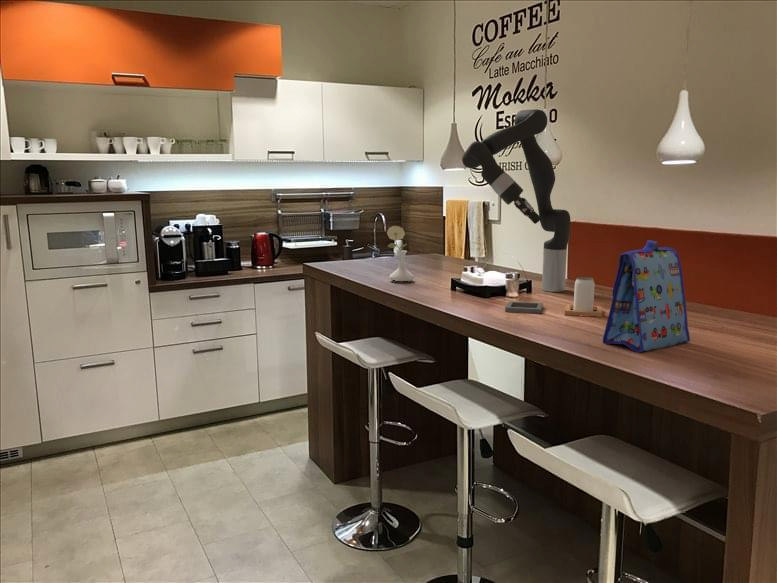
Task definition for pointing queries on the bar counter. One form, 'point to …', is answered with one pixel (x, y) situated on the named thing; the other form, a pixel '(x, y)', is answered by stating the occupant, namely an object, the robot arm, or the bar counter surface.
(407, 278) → the flower in vase
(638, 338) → the lunch bag
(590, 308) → the can
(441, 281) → the bar counter surface
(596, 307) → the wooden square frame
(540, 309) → the grey socket
